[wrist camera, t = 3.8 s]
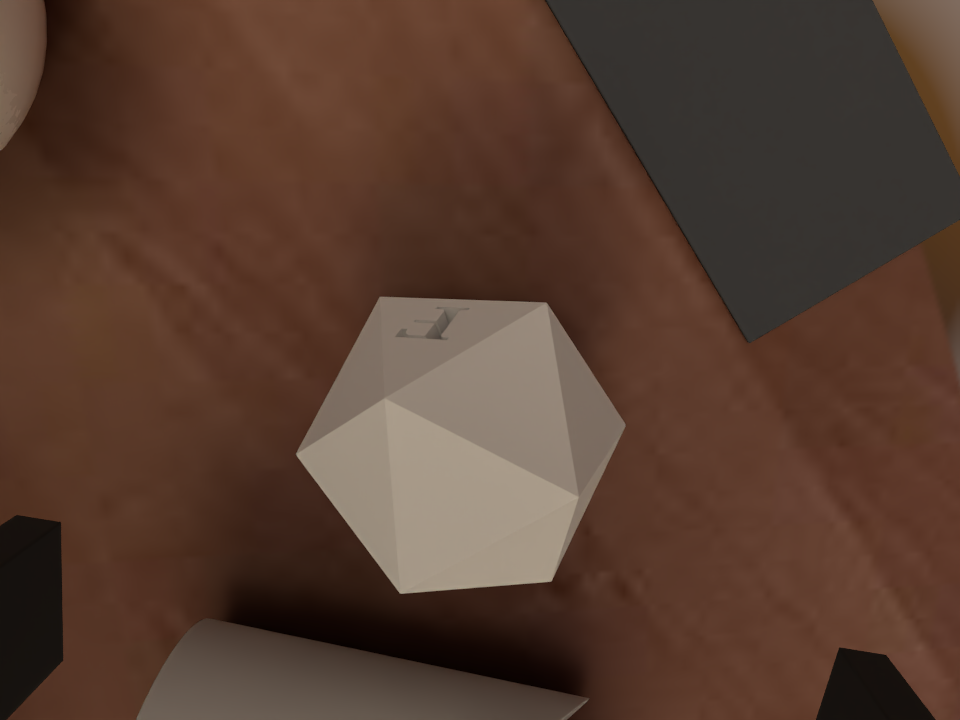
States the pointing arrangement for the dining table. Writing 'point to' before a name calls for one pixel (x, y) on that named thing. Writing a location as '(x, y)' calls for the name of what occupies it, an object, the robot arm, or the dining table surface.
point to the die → (462, 442)
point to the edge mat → (772, 139)
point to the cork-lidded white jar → (20, 61)
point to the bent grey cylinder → (327, 683)
